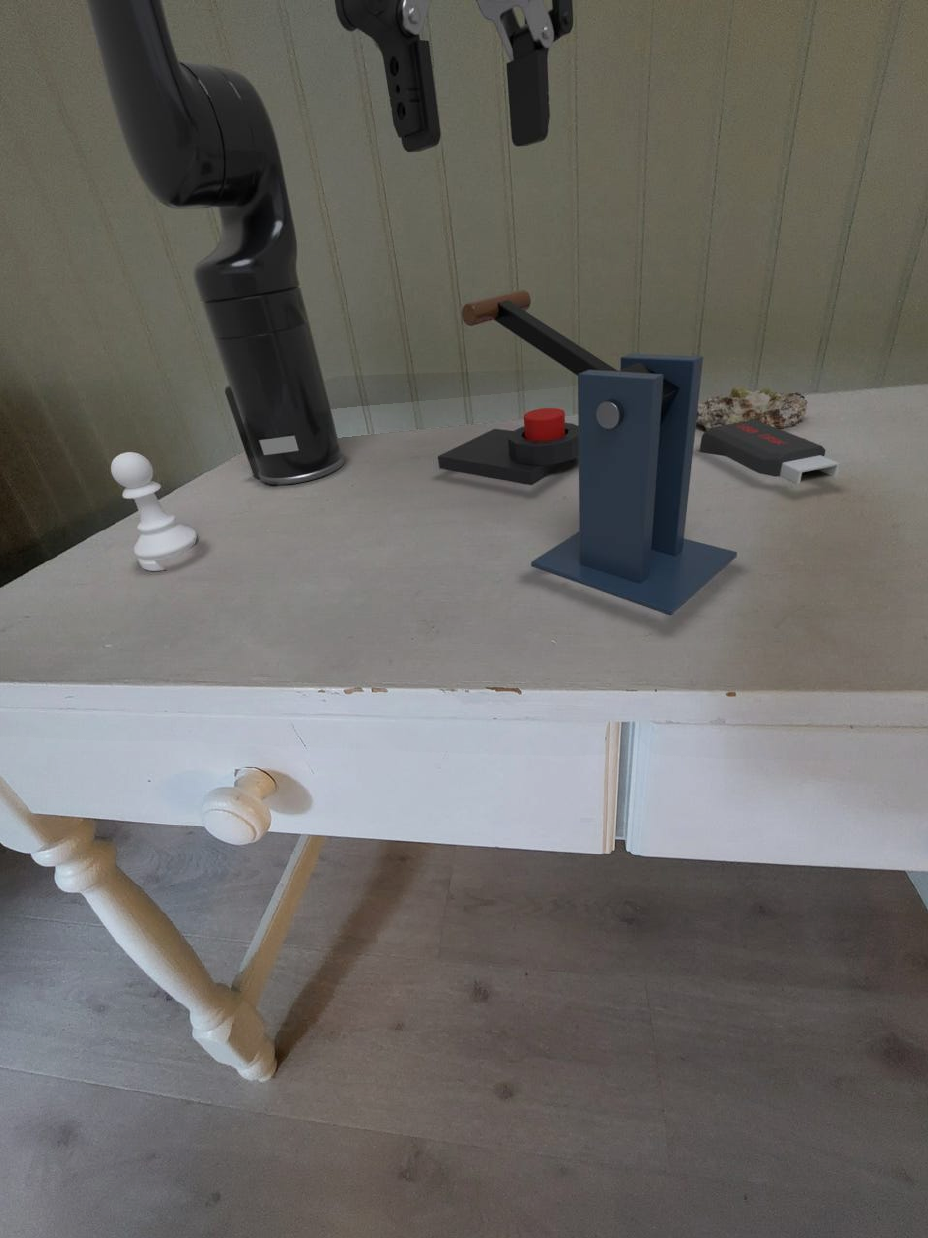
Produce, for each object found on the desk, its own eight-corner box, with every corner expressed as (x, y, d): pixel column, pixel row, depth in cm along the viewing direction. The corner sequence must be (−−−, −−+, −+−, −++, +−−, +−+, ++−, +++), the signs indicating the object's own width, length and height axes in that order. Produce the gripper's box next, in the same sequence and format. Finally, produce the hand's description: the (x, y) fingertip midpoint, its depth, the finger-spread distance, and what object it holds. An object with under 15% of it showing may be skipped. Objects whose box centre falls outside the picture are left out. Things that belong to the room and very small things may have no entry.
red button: (517, 440, 51) (515, 417, 50) (539, 428, 53) (538, 406, 52) (550, 445, 49) (549, 421, 48) (573, 432, 51) (572, 409, 50)
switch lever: (457, 330, 34) (465, 288, 33) (512, 315, 37) (522, 276, 35) (624, 446, 30) (643, 406, 28) (672, 420, 33) (693, 381, 31)
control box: (440, 477, 56) (434, 437, 54) (496, 448, 61) (492, 410, 59) (549, 499, 49) (547, 453, 46) (601, 464, 54) (602, 421, 52)
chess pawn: (157, 577, 45) (103, 469, 40) (131, 563, 48) (78, 460, 43) (213, 551, 48) (170, 446, 43) (186, 539, 51) (142, 439, 46)
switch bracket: (531, 578, 38) (518, 377, 31) (600, 532, 42) (603, 346, 35) (669, 630, 32) (693, 391, 24) (734, 569, 36) (771, 351, 29)
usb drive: (750, 442, 54) (755, 413, 52) (845, 485, 44) (854, 450, 42) (698, 452, 53) (702, 423, 51) (782, 498, 43) (790, 463, 42)
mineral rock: (709, 418, 53) (691, 376, 58) (699, 458, 57) (683, 414, 62) (830, 410, 52) (801, 368, 57) (813, 451, 56) (787, 407, 61)
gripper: (484, -259, 28) (513, 156, 37) (217, -396, 21) (334, 166, 30) (615, -384, 23) (613, 127, 32) (328, -623, 16) (429, 131, 25)
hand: (480, 146), depth 31 cm, fingers open, 8 cm apart
